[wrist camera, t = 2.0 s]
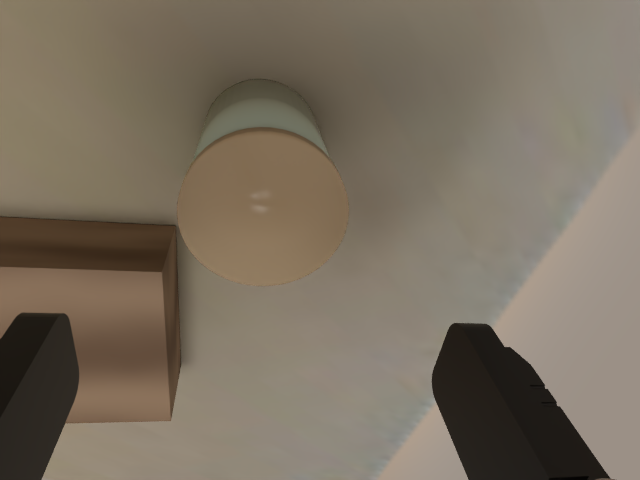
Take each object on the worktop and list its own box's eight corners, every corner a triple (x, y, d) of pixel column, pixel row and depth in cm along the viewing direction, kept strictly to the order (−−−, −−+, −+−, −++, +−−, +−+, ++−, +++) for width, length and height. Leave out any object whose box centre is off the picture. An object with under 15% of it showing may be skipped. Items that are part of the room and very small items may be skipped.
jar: (201, 70, 19) (173, 127, 12) (326, 84, 20) (363, 144, 13) (202, 185, 22) (179, 283, 15) (311, 193, 22) (335, 288, 16)
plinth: (-48, 214, 21) (-106, 263, 17) (175, 225, 22) (161, 272, 19) (2, 365, 26) (-36, 425, 22) (180, 365, 28) (170, 421, 24)
